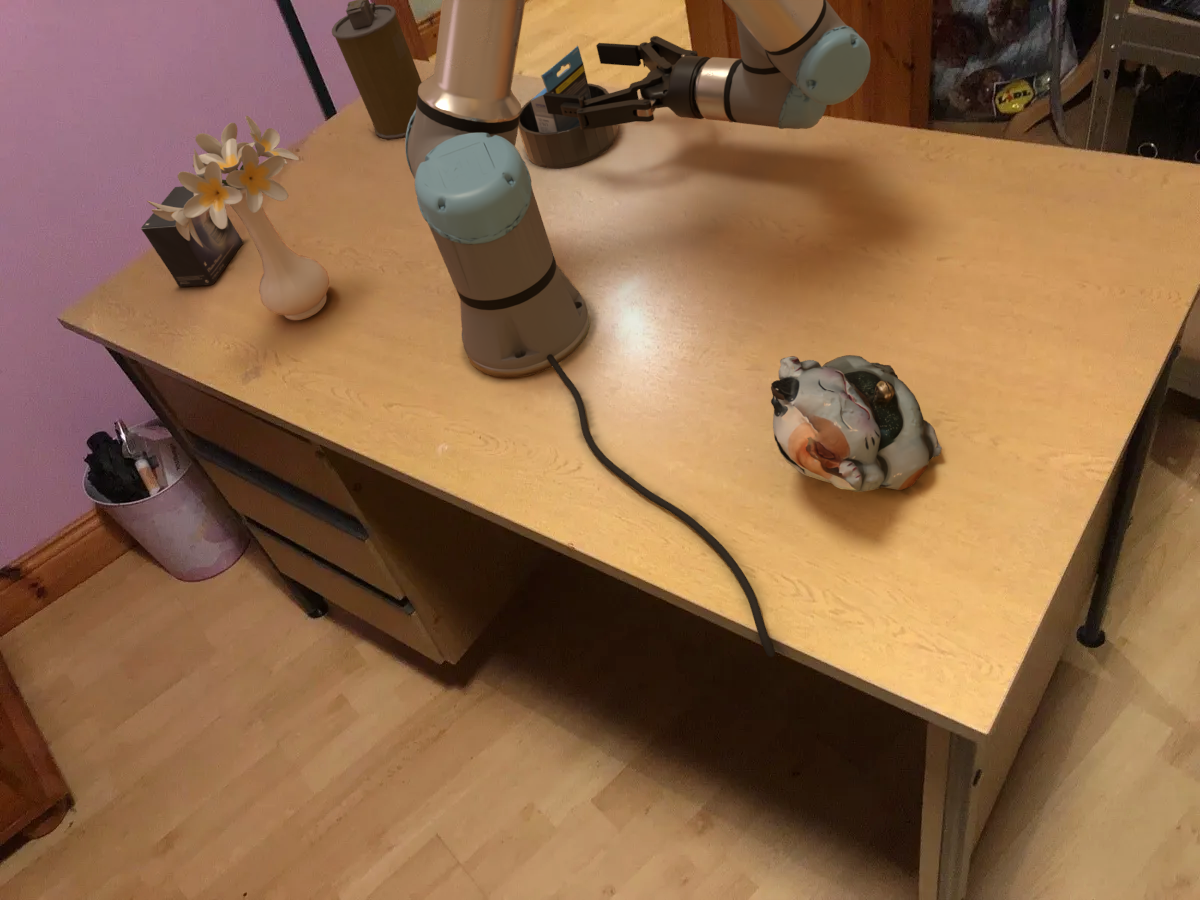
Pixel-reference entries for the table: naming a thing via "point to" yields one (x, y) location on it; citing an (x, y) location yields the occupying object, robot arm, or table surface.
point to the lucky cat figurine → (851, 424)
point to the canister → (379, 65)
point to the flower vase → (251, 214)
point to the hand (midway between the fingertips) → (573, 77)
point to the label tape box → (561, 92)
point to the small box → (192, 244)
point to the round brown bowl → (564, 139)
